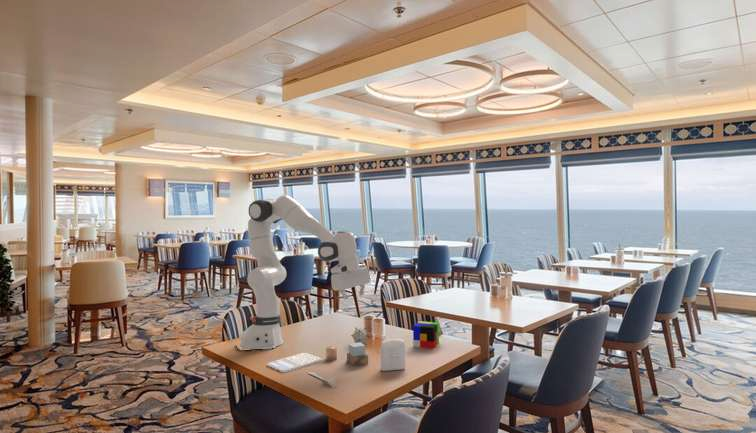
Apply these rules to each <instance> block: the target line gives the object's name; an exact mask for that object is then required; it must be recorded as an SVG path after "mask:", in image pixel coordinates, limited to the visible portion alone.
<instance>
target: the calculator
mask: <svg viewBox="0 0 756 433" xmlns="http://www.w3.org/2000/svg"><path fill="white" fill-rule="evenodd" d="M322 361H323V359H322V358H321V357H319V356H316V355H313V354H310V353H309V352H308V353H307V352H301V353H298V354H294V355H291V356H287V357H283V358H280V359H277V360H276V359H275V360H273V361H270V362H269V361H268V362H267V364H266V366H267V365H268V366H270V367H272V368H271V369H273V368H274V369H273V370H275V369H276V370H275V371H277V370H279V371H281V372H280V373H282V372H286V373H289V372H292V371H291V370H293V371H296V370H298V368H299V369H302V368H305V366H306V367H308V366H312V365H315V364H319V363H321V362H322ZM268 366H267V367H268ZM270 367H269V368H270ZM295 369H296V370H295ZM279 371H278V372H279ZM288 371H289V372H288Z"/></svg>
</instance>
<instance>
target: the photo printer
mask: <svg viewBox="0 0 756 433" xmlns="http://www.w3.org/2000/svg"><path fill="white" fill-rule="evenodd" d="M405 369H406V345H405V340H403V339H401V338H388V339H385V340H383V341H381V342H380V370H381V371H382V372H385V371H386V372H387V371H398V370H399V371H400V370H405Z"/></svg>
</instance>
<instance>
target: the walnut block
mask: <svg viewBox="0 0 756 433" xmlns="http://www.w3.org/2000/svg"><path fill="white" fill-rule="evenodd" d="M346 362H347V363H348V364H349V365H351V367H358V366H365V365H368V364H369V354H368V353H366V352H365V355H361V356H355V357H353V356H352V355H351V354H349V352H347V353H346Z"/></svg>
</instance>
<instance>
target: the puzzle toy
mask: <svg viewBox="0 0 756 433" xmlns="http://www.w3.org/2000/svg"><path fill="white" fill-rule="evenodd" d="M439 324H440V322H433V321H422V320H419V321H417V322H415V324H414V325H413V326H412V332H413V334H412V336H413V338H412V339H413V341H412V342H413V348H421V347H422V349H431V348H434V349H435V348H436V347H437V346H438V345H439V344H440V328H439V327H440V325H439ZM437 344H438V345H437ZM436 345H437V346H436Z"/></svg>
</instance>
